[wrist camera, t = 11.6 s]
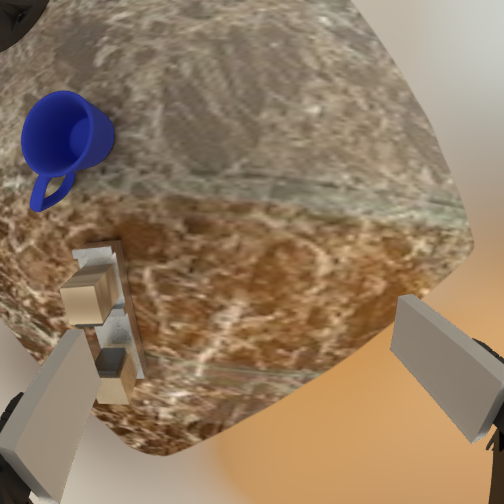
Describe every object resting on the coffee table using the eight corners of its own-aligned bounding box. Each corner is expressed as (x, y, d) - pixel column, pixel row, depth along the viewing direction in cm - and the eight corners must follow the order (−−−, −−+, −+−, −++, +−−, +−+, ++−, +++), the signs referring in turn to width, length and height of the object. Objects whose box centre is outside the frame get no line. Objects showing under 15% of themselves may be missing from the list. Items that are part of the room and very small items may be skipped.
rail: (84, 241, 36) (50, 266, 26) (120, 237, 36) (93, 262, 27) (115, 366, 41) (99, 412, 32) (147, 365, 42) (136, 413, 32)
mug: (43, 187, 33) (0, 198, 24) (78, 97, 31) (41, 81, 21) (95, 211, 35) (60, 229, 26) (133, 118, 33) (108, 104, 23)
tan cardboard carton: (83, 266, 34) (59, 288, 27) (113, 263, 34) (93, 286, 27) (91, 301, 35) (71, 329, 28) (120, 300, 35) (104, 328, 29)
